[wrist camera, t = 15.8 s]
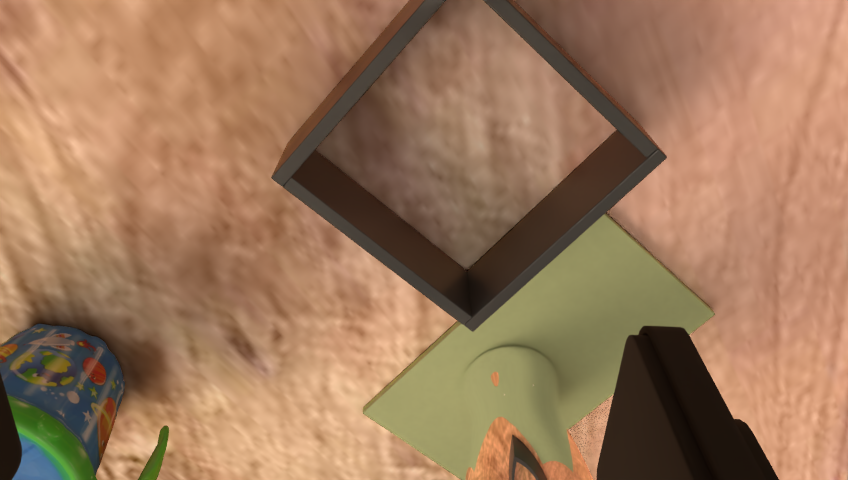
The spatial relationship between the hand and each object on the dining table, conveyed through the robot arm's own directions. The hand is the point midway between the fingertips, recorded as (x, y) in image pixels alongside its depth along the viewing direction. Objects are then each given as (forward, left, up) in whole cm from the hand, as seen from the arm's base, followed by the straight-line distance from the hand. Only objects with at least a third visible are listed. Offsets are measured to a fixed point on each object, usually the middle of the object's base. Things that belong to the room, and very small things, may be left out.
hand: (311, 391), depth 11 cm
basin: (+2, +7, -29) cm, 30 cm away
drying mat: (+10, +20, -29) cm, 37 cm away
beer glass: (+12, +20, -28) cm, 37 cm away
